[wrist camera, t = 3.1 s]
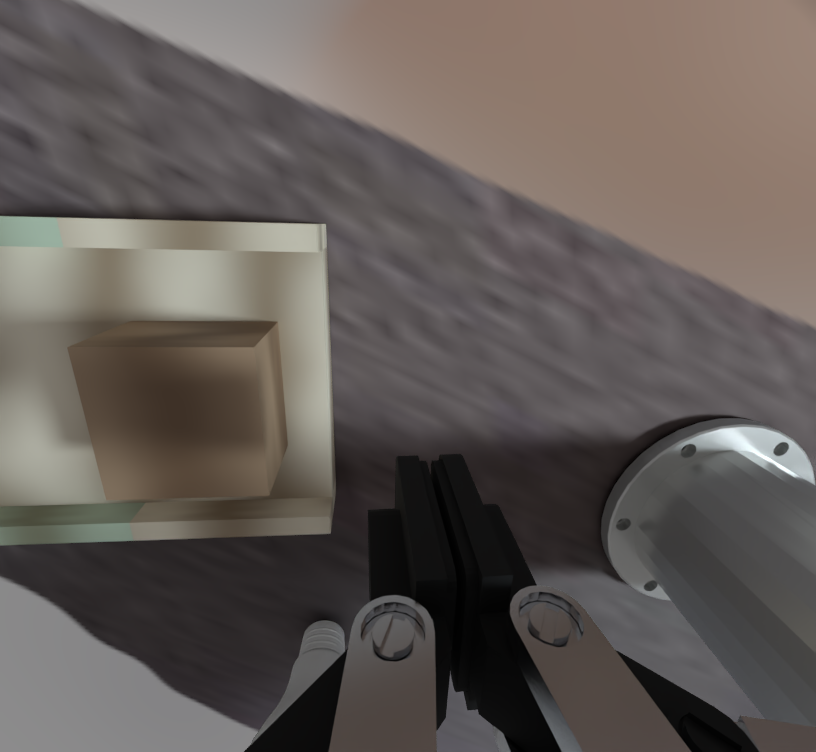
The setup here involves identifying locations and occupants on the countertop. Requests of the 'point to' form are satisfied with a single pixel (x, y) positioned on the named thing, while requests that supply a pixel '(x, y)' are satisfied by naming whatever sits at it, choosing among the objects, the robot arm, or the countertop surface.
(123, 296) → the trap lane
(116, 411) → the walnut block
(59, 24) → the countertop surface
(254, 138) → the countertop surface
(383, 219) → the countertop surface
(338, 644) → the lightbulb
